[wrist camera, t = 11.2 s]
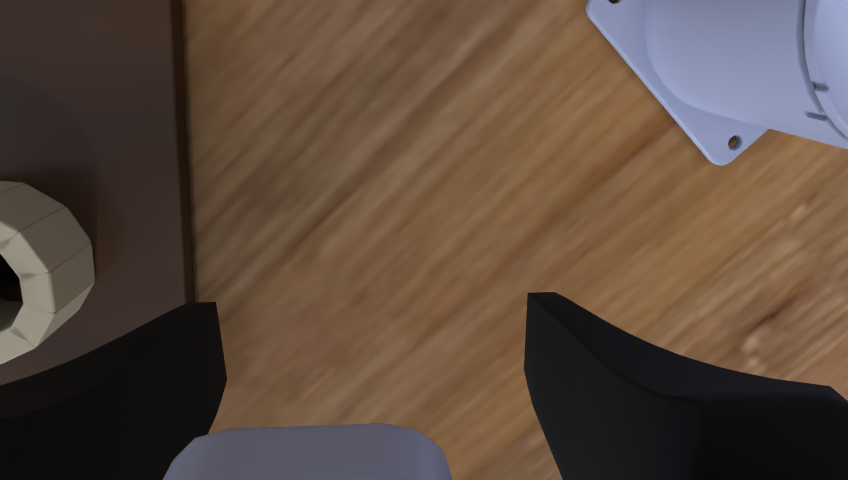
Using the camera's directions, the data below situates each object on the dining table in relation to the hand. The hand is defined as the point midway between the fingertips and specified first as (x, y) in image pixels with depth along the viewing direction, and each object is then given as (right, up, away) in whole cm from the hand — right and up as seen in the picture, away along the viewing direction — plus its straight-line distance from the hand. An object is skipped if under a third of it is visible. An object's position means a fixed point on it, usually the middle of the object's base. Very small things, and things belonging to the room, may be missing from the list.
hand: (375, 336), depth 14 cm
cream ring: (-14, +2, +8) cm, 16 cm away
